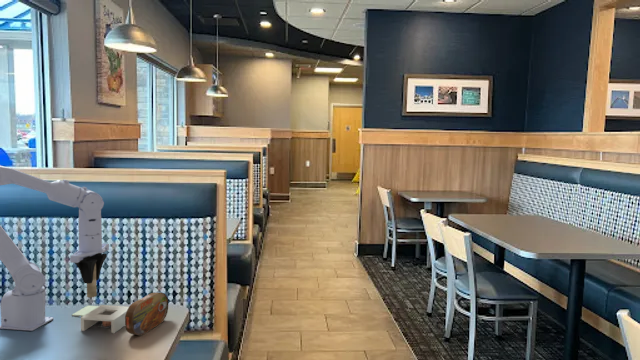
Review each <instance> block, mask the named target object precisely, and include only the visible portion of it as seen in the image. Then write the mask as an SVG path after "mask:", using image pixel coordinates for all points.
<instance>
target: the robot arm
mask: <svg viewBox="0 0 640 360" xmlns="http://www.w3.org/2000/svg"><path fill="white" fill-rule="evenodd" d="M10 184H12V185H16V186H21V187H23V188H26V189H31V190H34V191H38V192H41V193H44V194H46V196H47V199H48V200H49V201H51V202H52V201H53V202H55V203H58V204H60V205H61V204H62V205H65V206H68V207H72V208H78V250H77V251H76V252H73V253H72V254H71V255H70V257H69V258H70V259H69V260H70V263H73V264H74V265H76V267H77V268H78V270H79V272H80V275H81V278H82V281H83V284H87V283H92V281H93V272H94V267H95V264H96V281H99V278H100V276H101V271H102V267H103V264H104V262H105V261H106V259H107V257H108V255H107V253H106V252H108V251H109V250H110V244H109V243H103V236H102V235H103V233H102V232H103V231H102V227H103V226H102V210H103V208H104V205H105V201H104V199H103V197H102V196H101V195H100V194H99V193H98V192H96V191H93V190H91V189H88V187H86V186H82V187H81V186H78V185H75V184H72V183H70V180H67V179H65V178H64V179H63V180H61V179H56V180H54V181H48V180H44V179H43V178H39V177H37V176H34V175H32V174H29V173H27V172H23V171H21V170H17V169H15V168H13V167H9V166H3V165H0V186H5V185H10ZM0 261H1V262H2V264H3V265H4V267H5V268H6V269H7V271H8V272H9V274H10V275H11V277H12V281H13V282H14V287H13V289H10V290H8V291H7V292H5V293H4V294H3V296H2V298H1V301H0V323H1V324H0V329H1V330H2V329H3V330H4V329H5V330H15V331H17V330H18V331H29V332H30V331H35V330H37V329H39V328H40V327H42V326H43V325H45V324H48V323H49V322H51V321H53V320H54V317H52V316H46V295H45V294H46V292H45V291H46V290H45V289H46V288H45V286H44V285H45V281H46V280H45V279H46V278H45V275H44V274H43V272H41V270H40V267H39V265H37V264H36V263H34V262H32V261H30V260H29V259H28V258H27V257H26V256H25V254H23V252H22V251H21V249H19V247H18V245H16V243H15V242H14V241H13V239H12V238H11V237H10V235H9V234H8V232H6V230H5V229H4V228H3V227H2V226H1V224H0Z"/></svg>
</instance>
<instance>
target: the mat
mask: <svg viewBox="0 0 640 360" xmlns="http://www.w3.org/2000/svg"><path fill="white" fill-rule="evenodd" d="M99 306H100V305H99ZM99 306H98V305H85V307H83V308H81V309H79V310H77V311H76V312H74V313H72V314H71V316H72V317H79V316H81V317H83V316H84V315H86V314H88V313H89V312H91V311H93V310H94V309H96V308H98V307H99ZM81 317H80V318H81Z"/></svg>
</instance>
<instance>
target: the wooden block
mask: <svg viewBox="0 0 640 360" xmlns="http://www.w3.org/2000/svg"><path fill="white" fill-rule="evenodd" d="M86 297H87V298H90V299H91V298H95V297H97V280H96V264H95V267H94V272H93V281H92V283H86Z"/></svg>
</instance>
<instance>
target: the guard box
mask: <svg viewBox="0 0 640 360" xmlns="http://www.w3.org/2000/svg"><path fill="white" fill-rule="evenodd" d="M128 308H129V306H123V305H106V304H101V305H99V307H98V308H96V309H94V310H93V311H91V312H89V313H88V314H86V315H84V316H83V317H80V331H81V332H85V331H86V330H88V329H89V328H91V327H93V325H96V324H97V323H99V322H102V321H110V322H111V325H110V326H103V325H102V323H101V324H100V325H99V326H98V328H106V329H107V328H109V329H110V330H111V334H115V333H117V332H118V331H119V330H121V329H122V328H123V327H126V325H125V315H126V312H127V310H128Z"/></svg>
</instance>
